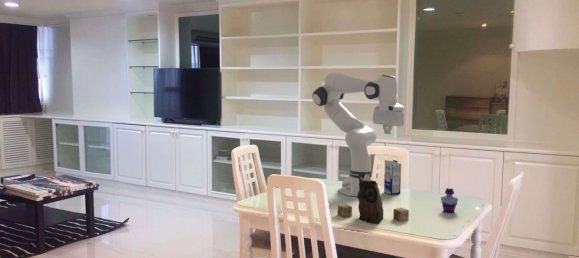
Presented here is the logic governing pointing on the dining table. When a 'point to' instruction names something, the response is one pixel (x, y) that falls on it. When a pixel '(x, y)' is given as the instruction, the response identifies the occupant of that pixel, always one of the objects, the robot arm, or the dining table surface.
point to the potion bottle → (449, 201)
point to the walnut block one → (344, 210)
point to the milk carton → (392, 177)
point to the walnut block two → (401, 214)
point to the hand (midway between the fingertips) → (387, 133)
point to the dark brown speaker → (369, 201)
